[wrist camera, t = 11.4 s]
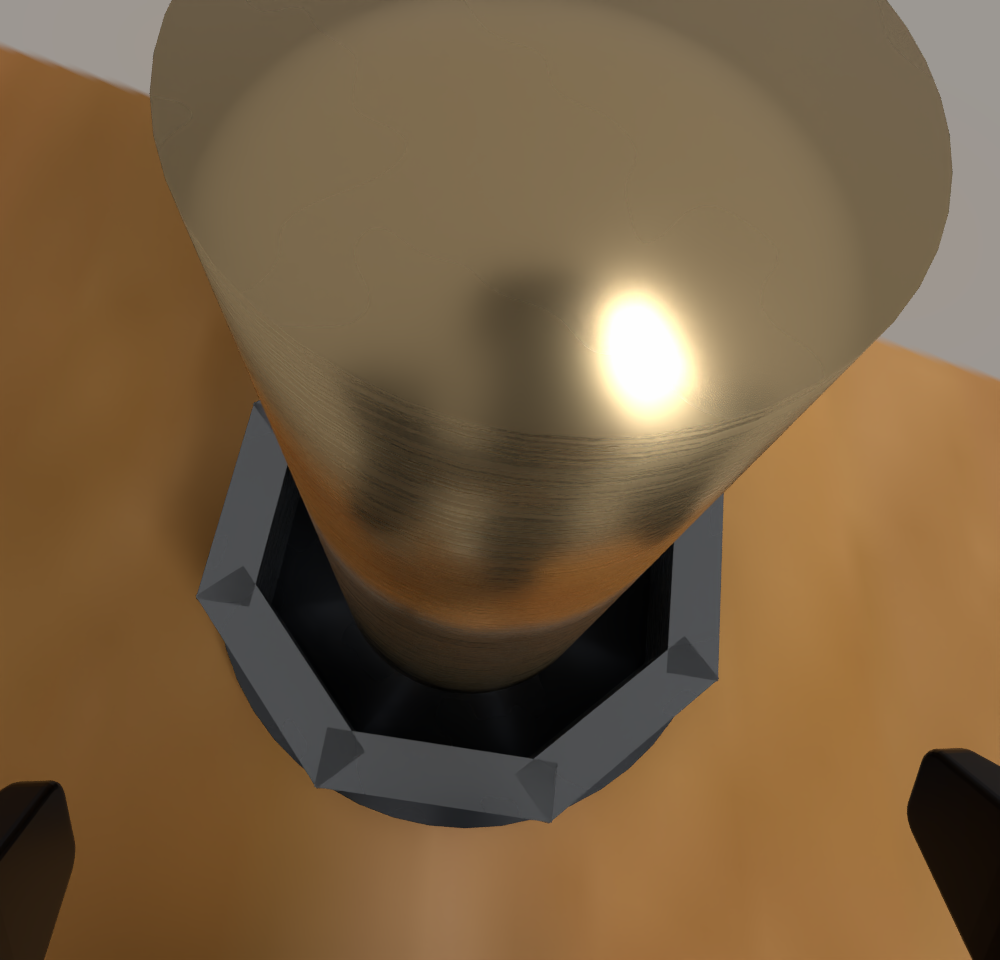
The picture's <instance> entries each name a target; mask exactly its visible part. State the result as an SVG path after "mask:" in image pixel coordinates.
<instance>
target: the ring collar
mask: <svg viewBox="0 0 1000 960" xmlns="http://www.w3.org/2000/svg"><path fill="white" fill-rule="evenodd" d="M723 495H724V493H723V494H722V495H721V496H720V497H719V498H718V499H717V500H716V501H715V502H714V503H713V504H712V505H711V506H710V507H709V508H708V509H707V510H706V511H705V512H704V513H703V514H702V515H701V516H700V517H699V518H698V519H697V520H696V521H695V522H694V523H693V524H692V525H691V526H690V527H689V528H688V529H687V530H686V531H685V532H684V533H683V534H682V535H681V536H680V537H679V538H678V539H677V540H676V541H675V542H674V543H673V544H672V545H671V546H670V547H669V548H668V549H667V550H666V551H665V552H664V553H663V554H662V555H661V556H660V557H659V558H658V559H657V560H656V561H655V562H654V563H653V564H652V565H651V566H650V567H649V568H648V569H647V570H646V571H645V572H644V573H643V574H642V575H641V576H640V577H639V578H638V579H637V580H636V581H635V582H634V583H633V584H632V585H631V586H630V587H629V588H628V589H627V590H626V591H625V592H624V593H623V594H622V595H621V596H620V597H619V598H618V599H617V600H616V601H615V602H614V603H613V604H612V605H611V606H610V607H609V608H608V609H607V610H606V611H605V612H604V613H603V614H602V615H601V616H600V617H599V618H598V619H597V620H596V621H595V622H594V623H593V624H592V625H591V626H590V627H589V628H588V629H587V630H586V631H585V632H584V633H583V634H582V635H581V636H580V637H579V638H578V639H577V640H576V641H575V642H574V643H573V644H572V645H571V646H570V647H569V648H568V649H567V650H566V651H565V652H564V653H563V654H562V655H561V656H560V657H559V658H558V659H557V660H556V661H555V662H553V663H552V664H551V665H550V666H549V667H547V668H546V669H545V670H543V671H542V672H540V673H539V674H538V675H536V676H534V677H532V678H530V679H528V680H527V681H525V682H523V683H520V684H517V685H515V686H512V687H509V688H507V689H502V690H498V691H494V692H488V693H476V694H466V693H452V692H447V691H442V690H437V689H434V688H431V687H428V686H425V685H422V684H420V683H418V682H415V681H413V680H411V679H409V678H407V677H405V676H404V675H402V674H401V673H399V672H398V671H396V670H395V669H393V668H392V667H391V666H389V665H388V664H387V663H386V662H385V661H384V660H383V659H382V658H381V657H379V656H378V655H377V653H376V652H375V651H374V650H373V649H372V648H371V646H370V645H369V644H368V643H367V641H366V640H365V638H364V637H363V635H362V634H361V632H360V630H359V629H358V627H357V625H356V623H355V620H354V618H353V616H352V614H351V612H350V609H349V607H348V605H347V602H346V600H345V598H344V595H343V593H342V591H341V588H340V586H339V584H338V581H337V579H336V577H335V574H334V572H333V570H332V567H331V565H330V563H329V560H328V558H327V556H326V553H325V551H324V549H323V546H322V544H321V542H320V539H319V537H318V535H317V532H316V530H315V528H314V525H313V523H312V521H311V518H310V516H309V514H308V511H307V509H306V507H305V504H304V502H303V499H302V497H301V495H300V492H299V490H298V488H297V485H296V483H295V481H294V478H293V476H292V474H291V471H290V469H289V467H288V464H287V462H286V460H285V457H284V455H283V453H282V450H281V448H280V446H279V443H278V441H277V439H276V436H275V434H274V432H273V429H272V427H271V425H270V422H269V420H268V418H267V415H266V413H265V411H264V408H263V406H262V404H261V401H260V400H259V401H257V402H254V404H253V409H252V412H251V415H250V419H249V422H248V425H247V429H246V432H245V436H244V439H243V442H242V446H241V449H240V452H239V456H238V459H237V462H236V466H235V469H234V473H233V476H232V479H231V483H230V486H229V489H228V493H227V496H226V499H225V503H224V506H223V509H222V513H221V516H220V520H219V523H218V526H217V530H216V533H215V536H214V540H213V543H212V546H211V550H210V553H209V557H208V560H207V563H206V567H205V570H204V573H203V577H202V580H201V583H200V587H199V590H198V593H197V595H196V599H197V600H199V602H200V603H201V605H202V606H203V608H204V610H205V611H206V613H207V614H208V616H209V618H210V619H211V621H212V622H213V624H214V626H215V627H216V629H217V630H218V632H219V633H220V635H221V637H222V638H223V640H224V641H225V645H226V649H227V652H228V655H229V658H230V661H231V663H232V666H233V669H234V672H235V675H236V678H237V680H238V682H239V684H240V686H241V688H242V690H243V692H244V694H245V696H246V697H247V699H248V701H249V703H250V705H251V707H252V709H253V711H254V712H255V714H256V715H257V716H258V718H259V719H260V720H261V722H262V723H263V725H264V726H265V727H266V729H267V730H268V731H269V733H270V734H271V736H272V737H273V738H274V740H275V741H276V742H277V743H278V744H279V745H280V746H281V747H282V748H283V749H284V750H285V751H286V752H287V753H288V754H289V755H290V756H291V757H292V758H293V759H294V760H295V761H296V762H297V763H298V764H299V765H300V766H301V767H303V768H304V769H305V770H306V772H307V774H308V775H309V777H310V778H311V780H312V782H313V783H314V787H316V788H326V789H333V790H335V791H336V792H338V793H340V794H342V795H344V796H345V797H347V798H349V799H351V800H352V801H354V802H356V803H358V804H360V805H362V806H365V807H368V808H370V809H373V810H376V811H378V812H381V813H383V814H386V815H389V816H391V817H394V818H399V819H403V820H408V821H412V822H416V823H421V824H425V825H431V826H444V827H457V828H475V827H490V826H503V825H507V824H512V823H517V822H521V821H526V820H538V821H542V822H545V823H550V822H551V823H552V820H553V819H555V818H556V817H557V816H558V815H559V814H560V813H562V812H563V811H564V810H565V809H566V808H567V807H569V806H571V805H573V804H575V803H577V802H578V801H580V800H582V799H584V798H586V797H588V796H589V795H591V794H593V793H595V792H597V791H599V790H601V789H602V788H603V787H605V786H606V785H607V784H609V783H610V782H611V781H613V780H614V779H616V778H617V777H618V776H620V775H621V774H622V773H624V772H625V771H626V770H628V769H629V768H630V767H631V766H632V765H633V764H634V763H635V762H636V761H637V760H638V759H639V758H640V757H641V756H642V755H643V754H644V753H645V752H646V751H647V750H648V749H649V748H650V747H651V746H652V745H653V744H654V743H655V741H656V740H657V739H658V737H659V736H660V735H661V733H662V732H663V731H664V730H665V728H666V727H667V726H668V724H669V723H670V722H671V720H672V719H673V718H674V716H675V715H677V714H678V713H679V712H680V711H681V710H683V709H684V708H685V707H686V706H687V705H688V704H690V703H691V702H692V701H693V700H694V699H695V698H697V697H698V696H699V695H700V694H701V693H702V692H704V691H705V690H706V689H707V688H708V687H710V686H711V685H712V684H713V683H714V682H716V681H718V679H719V678H718V660H719V627H720V594H721V561H722V528H723Z"/></svg>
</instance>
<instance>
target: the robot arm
mask: <svg viewBox="0 0 1000 960" xmlns="http://www.w3.org/2000/svg"><path fill="white" fill-rule="evenodd" d="M907 816H908V822H909V825H910V828H911V831H912V833H913V835H914V838H915V840H916V842H917V844H918V846H919V848H920V850H921V852H922V855H923V857H924V859H925V861H926V863H927V865H928V867H929V869H930V871H931V874H932V876H933V878H934V880H935V882H936V884H937V886H938V888H939V891H940V893H941V895H942V897H943V899H944V901H945V903H946V905H947V908H948V910H949V912H950V914H951V916H952V918H953V920H954V922H955V924H956V927H957V929H958V931H959V933H960V935H961V937H962V939H963V941H964V944H965V946H966V948H967V950H968V952H969V954H970V956H971V958H972V960H1000V766H999V765H997V764H995V763H993V762H991V761H989V760H988V759H986V758H984V757H982V756H980V755H979V754H977V753H975V752H973V751H971V750H968V749H963V748H950V749H933V750H930V751H929V752H928V753H927V754H926V755H925V756H924V757H923V759H922V762H921V765H920V768H919V771H918V774H917V777H916V780H915V783H914V786H913V789H912V792H911V795H910V798H909V801H908V806H907ZM74 858H75V841H74V836H73V831H72V826H71V822H70V817H69V812H68V807H67V802H66V797H65V793H64V790H63V788H62V786H61V785H60V784H59V783H58V782H55V781H51V780H50V781H23V782H16V783H12V784H10V785H8V786H6V787H5V788H3V789H2V790H1V791H0V960H44V958H45V955H46V952H47V948H48V945H49V942H50V939H51V936H52V933H53V929H54V926H55V923H56V920H57V917H58V914H59V910H60V907H61V904H62V901H63V898H64V894H65V891H66V888H67V885H68V882H69V879H70V875H71V872H72V868H73V864H74Z"/></svg>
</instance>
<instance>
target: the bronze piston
mask: <svg viewBox="0 0 1000 960" xmlns="http://www.w3.org/2000/svg"><path fill="white" fill-rule="evenodd" d="M150 102H151V113H152V125H153V136H154V139H155V143H156V147H157V150H158V154H159V158H160V161H161V165H162V169H163V172H164V176H165V179H166V182H167V184H168V186H169V189H170V191H171V193H172V196H173V198H174V200H175V203H176V205H177V207H178V210H179V212H180V214H181V217H182V219H183V221H184V224H185V226H186V228H187V231H188V233H189V235H190V238H191V240H192V242H193V245H194V247H195V249H196V252H197V254H198V256H199V259H200V261H201V263H202V266H203V268H204V270H205V273H206V275H207V277H208V280H209V282H210V285H211V287H212V289H213V292H214V294H215V296H216V299H217V301H218V303H219V306H220V308H221V310H222V313H223V315H224V317H225V320H226V322H227V324H228V327H229V329H230V331H231V334H232V336H233V338H234V341H235V343H236V345H237V348H238V350H239V352H240V355H241V357H242V359H243V362H244V364H245V366H246V369H247V371H248V373H249V376H250V378H251V380H252V383H253V385H254V387H255V390H256V392H257V394H258V397H259V399H260V401H261V404H262V406H263V408H264V411H265V413H266V415H267V418H268V420H269V422H270V425H271V427H272V429H273V432H274V434H275V436H276V439H277V441H278V443H279V446H280V448H281V450H282V453H283V455H284V457H285V460H286V462H287V464H288V467H289V469H290V471H291V474H292V476H293V478H294V481H295V483H296V485H297V488H298V490H299V492H300V495H301V497H302V499H303V502H304V504H305V507H306V509H307V511H308V514H309V516H310V518H311V521H312V523H313V525H314V528H315V530H316V532H317V535H318V537H319V539H320V542H321V544H322V546H323V549H324V551H325V553H326V556H327V558H328V560H329V563H330V565H331V567H332V570H333V572H334V574H335V577H336V579H337V581H338V584H339V586H340V588H341V591H342V593H343V595H344V598H345V600H346V602H347V605H348V607H349V609H350V612H351V614H352V616H353V618H354V620H355V623H356V625H357V627H358V629H359V630H360V632H361V634H362V635H363V637H364V638H365V640H366V641H367V643H368V644H369V645H370V646H371V648H372V649H373V650H374V651H375V652H376V653H377V655H378V656H379V657H381V658H382V659H383V660H384V661H385V662H386V663H387V664H388V665H389V666H391V667H392V668H393V669H395V670H396V671H398V672H399V673H401V674H402V675H404V676H405V677H407V678H409V679H411V680H413V681H415V682H418V683H420V684H422V685H425V686H428V687H431V688H434V689H437V690H442V691H447V692H452V693H466V694H476V693H488V692H494V691H498V690H502V689H507V688H509V687H512V686H515V685H517V684H520V683H523V682H525V681H527V680H528V679H530V678H532V677H534V676H536V675H538V674H539V673H540V672H542V671H543V670H545V669H546V668H547V667H549V666H550V665H551V664H552V663H553V662H555V661H556V660H557V659H558V658H559V657H560V656H561V655H562V654H563V653H564V652H565V651H566V650H567V649H568V648H569V647H570V646H571V645H572V644H573V643H574V642H575V641H576V640H577V639H578V638H579V637H580V636H581V635H582V634H583V633H584V632H585V631H586V630H587V629H588V628H589V627H590V626H591V625H592V624H593V623H594V622H595V621H596V620H597V619H598V618H599V617H600V616H601V615H602V614H603V613H604V612H605V611H606V610H607V609H608V608H609V607H610V606H611V605H612V604H613V603H614V602H615V601H616V600H617V599H618V598H619V597H620V596H621V595H622V594H623V593H624V592H625V591H626V590H627V589H628V588H629V587H630V586H631V585H632V584H633V583H634V582H635V581H636V580H637V579H638V578H639V577H640V576H641V575H642V574H643V573H644V572H645V571H646V570H647V569H648V568H649V567H650V566H651V565H652V564H653V563H654V562H655V561H656V560H657V559H658V558H659V557H660V556H661V555H662V554H663V553H664V552H665V551H666V550H667V549H668V548H669V547H670V546H671V545H672V544H673V543H674V542H675V541H676V540H677V539H678V538H679V537H680V536H681V535H682V534H683V533H684V532H685V531H686V530H687V529H688V528H689V527H690V526H691V525H692V524H693V523H694V522H695V521H696V520H697V519H698V518H699V517H700V516H701V515H702V514H703V513H704V512H705V511H706V510H707V509H708V508H709V507H710V506H711V505H712V504H713V503H714V502H715V501H716V500H717V499H718V498H719V497H720V496H721V495H722V494H723V493H724V492H725V491H726V490H727V489H728V488H729V487H730V486H731V485H732V484H733V483H734V482H735V481H736V480H737V479H738V478H739V477H740V476H741V475H742V474H743V473H744V472H745V471H746V470H747V469H748V468H749V467H750V466H751V465H752V464H753V463H754V462H755V461H756V460H757V459H758V458H759V457H760V456H761V455H762V454H763V453H764V452H765V451H766V450H767V449H768V448H769V447H770V446H771V445H772V444H773V443H774V442H775V441H776V440H777V439H778V438H779V437H780V436H781V435H782V434H783V433H784V431H785V430H786V429H787V428H788V427H789V426H790V425H791V424H792V423H793V422H794V421H795V420H796V419H797V418H798V417H799V416H800V415H801V414H802V413H803V412H804V411H805V410H806V409H807V408H808V407H809V406H810V405H811V404H812V403H813V402H814V401H815V400H816V399H817V398H818V397H819V396H820V395H821V394H822V393H823V392H824V391H825V390H826V389H827V388H828V387H829V386H830V385H831V384H832V383H833V382H834V381H835V380H836V379H837V378H838V377H839V376H840V375H841V374H842V373H843V372H844V371H845V370H846V369H847V368H848V367H849V366H850V365H851V364H852V363H853V362H854V361H855V360H856V359H857V358H858V357H859V356H860V355H861V354H862V353H863V352H864V351H865V350H866V349H867V348H868V347H869V346H870V345H871V344H872V343H873V342H874V341H875V340H876V339H877V338H878V337H879V336H880V335H881V334H882V333H883V332H884V331H885V330H886V329H887V328H888V327H889V326H890V325H891V324H892V323H893V322H894V321H895V320H896V318H897V317H898V316H899V314H900V313H901V312H902V310H903V309H904V307H905V306H906V305H907V303H908V302H909V301H910V299H911V298H912V297H913V295H914V294H915V293H916V291H917V290H918V289H919V287H920V285H921V283H922V281H923V279H924V277H925V275H926V273H927V271H928V269H929V267H930V265H931V263H932V261H933V259H934V257H935V255H936V253H937V251H938V248H939V244H940V241H941V237H942V234H943V230H944V226H945V223H946V220H947V216H948V212H949V203H950V193H951V183H952V160H951V147H950V134H949V130H948V126H947V122H946V118H945V113H944V109H943V105H942V101H941V97H940V94H939V92H938V89H937V87H936V84H935V82H934V80H933V77H932V75H931V72H930V70H929V67H928V65H927V62H926V60H925V58H924V57H923V55H922V53H921V51H920V50H919V48H918V46H917V45H916V43H915V41H914V39H913V37H912V36H911V34H910V32H909V30H908V29H907V27H906V26H905V24H904V23H903V21H902V20H901V19H900V17H899V16H898V15H897V13H896V12H895V11H894V9H893V8H892V7H891V5H890V4H889V3H888V1H887V0H172V1H171V3H170V5H169V7H168V9H167V11H166V13H165V16H164V19H163V22H162V26H161V29H160V33H159V36H158V40H157V43H156V47H155V50H154V55H153V66H152V77H151V86H150Z"/></svg>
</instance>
